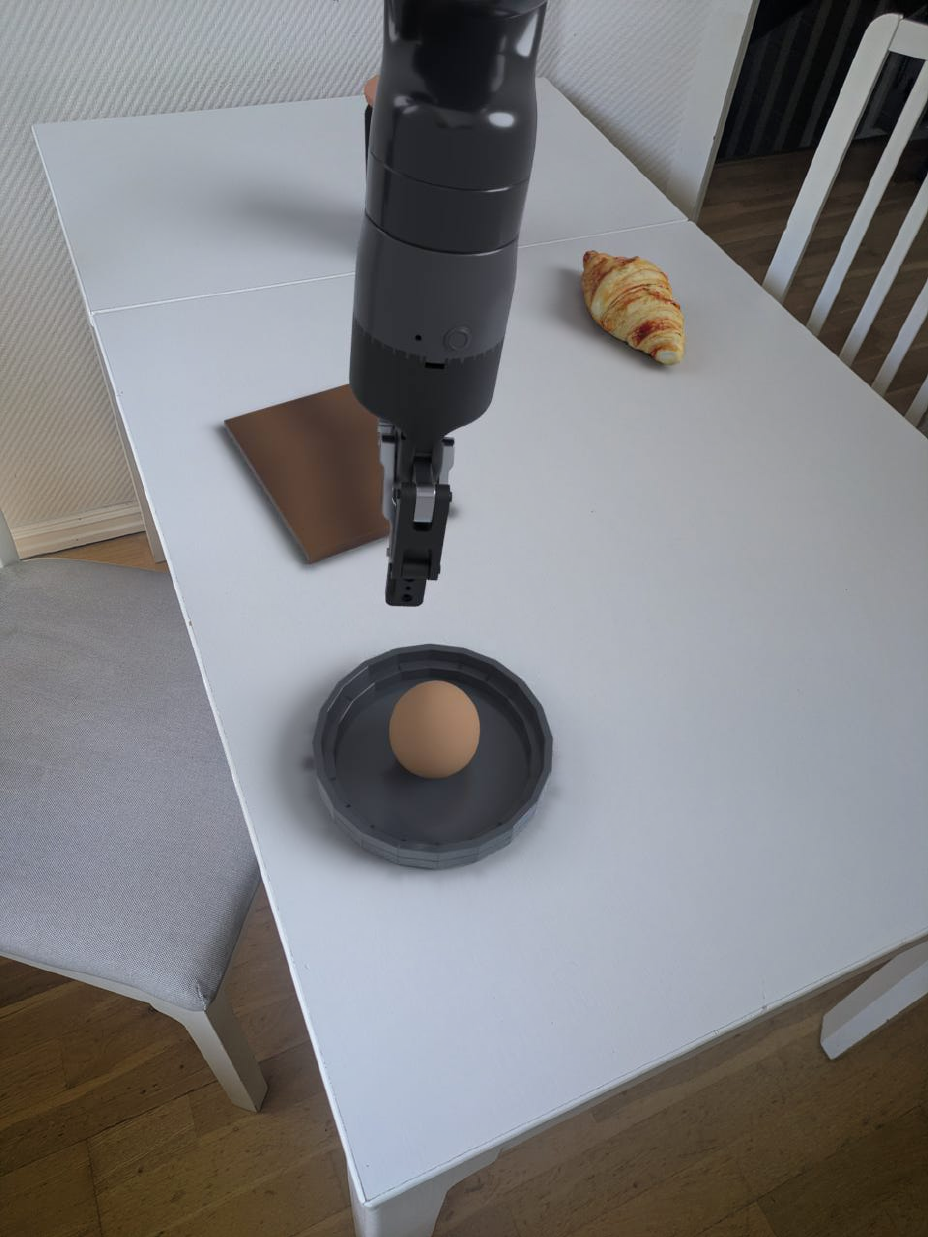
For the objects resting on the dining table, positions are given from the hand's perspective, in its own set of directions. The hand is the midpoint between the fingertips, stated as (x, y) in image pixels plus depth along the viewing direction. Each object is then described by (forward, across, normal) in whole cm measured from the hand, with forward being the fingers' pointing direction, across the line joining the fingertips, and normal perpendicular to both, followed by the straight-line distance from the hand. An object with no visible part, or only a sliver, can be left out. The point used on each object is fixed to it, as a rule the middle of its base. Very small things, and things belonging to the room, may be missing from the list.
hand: (400, 551), depth 56 cm
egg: (+18, +3, +4) cm, 19 cm away
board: (+17, -29, -4) cm, 34 cm away
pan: (+18, +3, +4) cm, 19 cm away
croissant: (+13, -54, +30) cm, 63 cm away
